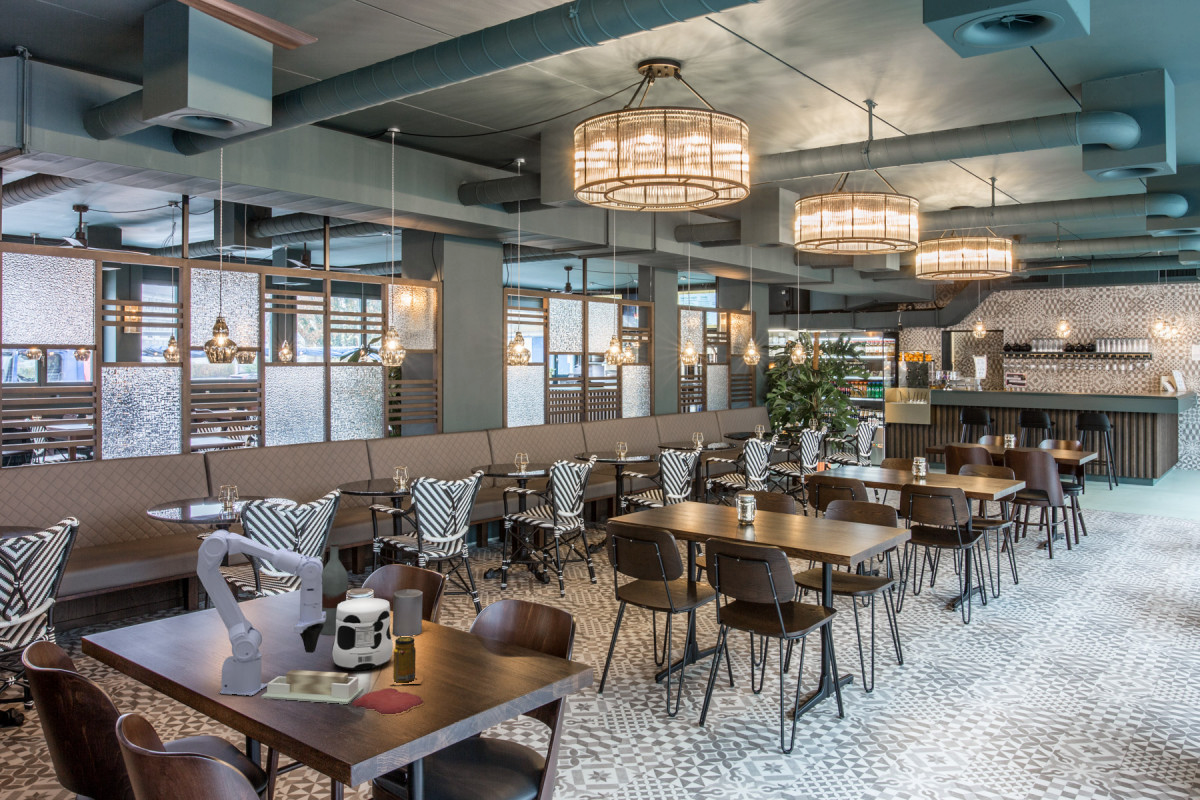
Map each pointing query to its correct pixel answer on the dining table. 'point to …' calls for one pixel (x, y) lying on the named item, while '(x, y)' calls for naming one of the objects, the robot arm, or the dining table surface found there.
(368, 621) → the milk container
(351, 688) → the end caps
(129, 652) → the dining table surface
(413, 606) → the pillar candle
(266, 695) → the cap board
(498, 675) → the dining table surface
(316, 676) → the slat
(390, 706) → the patty
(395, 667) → the condiment
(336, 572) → the bottle
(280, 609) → the dining table surface
